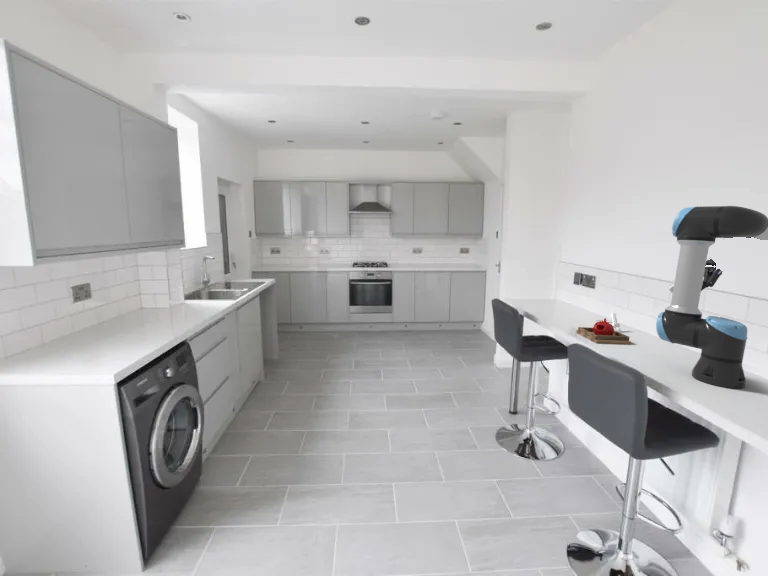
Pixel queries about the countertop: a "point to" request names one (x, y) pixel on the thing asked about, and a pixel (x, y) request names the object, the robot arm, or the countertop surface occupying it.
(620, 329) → the hook
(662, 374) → the countertop surface
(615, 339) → the tray
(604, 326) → the pomegranate
